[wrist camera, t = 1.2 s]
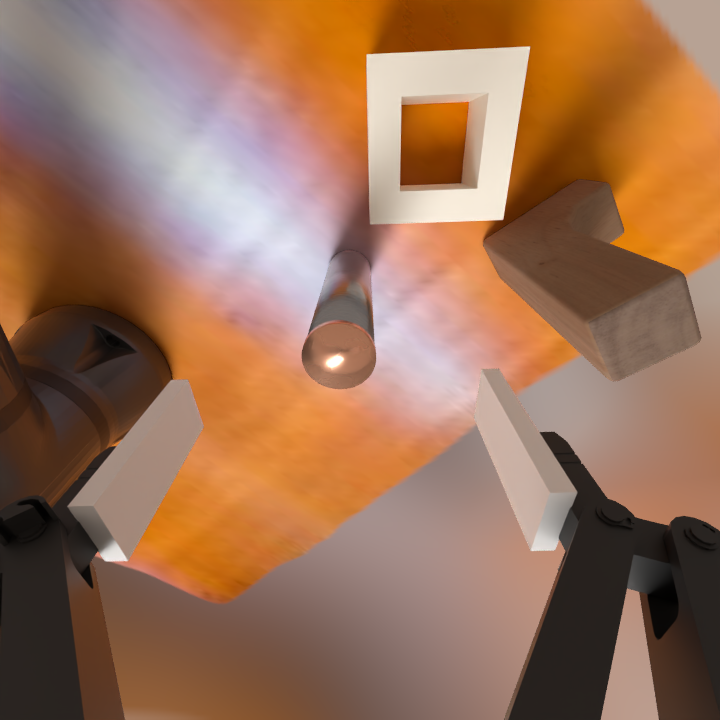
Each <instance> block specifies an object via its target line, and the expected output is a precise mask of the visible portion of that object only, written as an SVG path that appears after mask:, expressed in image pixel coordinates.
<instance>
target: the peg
mask: <svg viewBox="0 0 720 720" xmlns="http://www.w3.org/2000/svg"><path fill="white" fill-rule="evenodd" d="M302 362H303V365H304V368H305V370H306V372H307V373H308V374H309V376H310V377H311V378H312V379H313V380H315V381H316V382H317V383H319V384H321V385H323V386H326V387H329V388H333V389H347V388H352V387H355V386H357V385H359V384H361V383H363V382H364V381H365V380H366V379H367V378H368V377H369V376H370V375H371V373H372V372H373V370H374V367H375V363H376V349H375V344H374V326H373V307H372V289H371V270H370V265H369V262H368V260H367V259H366V257H365V256H364V255H362V254H361V253H359V252H357V251H354V250H344V251H341V252H339V253H337V254H336V255H335V256H334V257H333V258H332V260H331V261H330V264H329V267H328V271H327V274H326V277H325V280H324V284H323V287H322V290H321V293H320V297H319V300H318V303H317V307H316V310H315V313H314V316H313V320H312V323H311V326H310V329H309V333H308V336H307V338H306V340H305V343H304V346H303V350H302Z"/></svg>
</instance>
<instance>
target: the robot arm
mask: <svg viewBox="0 0 720 720" xmlns="http://www.w3.org/2000/svg"><path fill="white" fill-rule="evenodd" d="M474 419H475V422H476V424H477V426H478V429H479V431H480V433H481V435H482V438H483V440H484V443H485V445H486V447H487V450H488V452H489V454H490V457H491V459H492V461H493V464H494V466H495V468H496V471H497V473H498V475H499V478H500V480H501V482H502V485H503V487H504V489H505V492H506V494H507V496H508V499H509V501H510V504H511V506H512V508H513V511H514V513H515V515H516V517H517V520H518V522H519V524H520V527H521V529H522V532H523V534H524V536H525V539H526V541H527V543H528V545H529V548H530V550H531V551H545V550H555V548H556V546H557V543H558V541H559V539H560V541H561V543H562V545H563V547H564V549H565V551H566V552H565V554H564V556H563V559H562V561H561V564H560V566H559V568H558V573H557V576H556V578H555V581H554V584H553V587H552V589H551V592H550V595H549V598H548V600H547V603H546V606H545V608H544V611H543V614H542V617H541V619H540V622H539V625H538V628H537V630H536V633H535V636H534V638H533V641H532V644H531V647H530V650H529V653H528V655H527V658H526V660H525V664H524V666H523V669H522V671H521V674H520V677H519V680H518V682H517V685H516V688H515V690H514V693H513V696H512V699H511V701H510V704H509V707H508V710H507V713H506V715H505V718H504V720H601V715H602V710H603V704H604V700H605V694H606V690H607V685H608V680H609V674H610V670H611V665H612V660H613V655H614V650H615V645H616V640H617V635H618V629H619V625H620V620H621V615H622V609H623V605H624V600H625V595H626V590H627V588H628V589H631V590H635V591H638V592H639V593H640V600H641V606H642V613H643V619H644V625H645V632H646V638H647V645H648V651H649V658H650V664H651V670H652V677H653V684H654V690H655V697H656V703H657V710H658V716H659V720H720V531H719V530H718V529H716V528H714V527H713V526H711V525H710V524H708V523H706V522H704V521H701V520H698V519H696V518H692V517H686V516H681V517H676V518H675V519H674V520H672V521H671V523H670V524H669V526H668V525H664V524H659V523H655V522H651V521H647V520H643V519H639V518H636V517H634V515H633V514H632V513H631V512H630V511H629V510H628V509H627V508H626V507H624V506H622V505H621V504H619V503H617V502H616V501H613V500H610V499H607V497H606V496H605V494H604V493H603V492H602V490H601V489H600V487H599V486H598V485H597V483H596V482H595V480H594V479H593V478H592V476H591V475H590V473H589V472H588V471H587V469H586V468H585V466H584V465H583V464H581V461H580V459H579V458H578V456H577V455H575V453H574V451H573V450H572V448H571V447H570V445H569V444H568V442H566V440H564V439H563V438H562V437H560V436H559V435H558V434H556V433H555V432H539V431H538V429H537V428H536V426H535V425H534V423H533V422H532V420H531V419H530V417H529V415H528V414H527V412H526V411H525V409H524V408H523V406H522V404H521V403H520V401H519V400H518V398H517V396H516V395H515V393H514V392H513V390H512V389H511V387H510V385H509V384H508V382H507V381H506V379H505V378H504V376H503V374H502V373H501V371H500V370H499V369H481V375H480V381H479V388H478V394H477V401H476V408H475V414H474ZM203 427H204V426H203V423H202V420H201V417H200V414H199V411H198V408H197V405H196V402H195V399H194V396H193V393H192V390H191V387H190V384H189V381H188V380H172V379H171V373H170V370H169V367H168V364H167V362H166V360H165V358H164V356H163V354H162V353H161V351H160V350H159V349H158V347H157V346H156V345H155V344H154V342H153V341H152V340H151V339H150V338H149V337H148V336H147V335H146V334H145V333H143V332H142V331H141V330H140V329H139V328H137V327H136V326H135V325H133V324H132V323H130V322H128V321H127V320H125V319H123V318H121V317H119V316H117V315H115V314H113V313H111V312H108V311H105V310H102V309H99V308H95V307H90V306H83V305H65V306H59V307H55V308H52V309H50V310H48V311H46V312H44V313H42V314H40V315H38V316H36V317H34V318H32V319H30V320H29V321H27V322H26V323H25V324H23V325H22V326H21V327H20V328H19V329H18V330H17V332H16V333H15V335H14V336H13V337H12V339H11V340H10V341H9V342H8V339H7V337H6V335H5V333H4V331H3V329H2V327H1V325H0V720H125V718H124V713H123V708H122V703H121V698H120V693H119V688H118V683H117V678H116V673H115V668H114V663H113V658H112V653H111V648H110V643H109V638H108V632H107V628H106V622H105V617H104V612H103V608H102V602H101V597H100V592H99V588H98V582H97V577H96V572H95V568H94V566H93V564H92V563H91V561H92V559H93V557H94V556H95V554H96V553H97V551H98V552H99V553H100V555H101V556H102V558H103V559H104V560H105V561H128V560H129V558H130V557H131V555H132V553H133V551H134V550H135V548H136V546H137V544H138V543H139V541H140V539H141V537H142V535H143V534H144V532H145V530H146V528H147V527H148V525H149V523H150V521H151V519H152V518H153V516H154V514H155V512H156V511H157V509H158V507H159V505H160V504H161V502H162V500H163V498H164V496H165V495H166V493H167V491H168V489H169V488H170V486H171V484H172V482H173V480H174V479H175V477H176V475H177V473H178V472H179V470H180V468H181V466H182V465H183V463H184V461H185V459H186V457H187V456H188V454H189V452H190V450H191V449H192V447H193V445H194V443H195V441H196V440H197V438H198V436H199V434H200V433H201V431H202V429H203ZM120 440H121V442H120V443H119V444H118V445H117V446H113V447H110V446H112V445H114V444H115V443H117V442H119V441H120Z"/></svg>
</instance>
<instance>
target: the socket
mask: <svg viewBox="0 0 720 720" xmlns="http://www.w3.org/2000/svg"><path fill="white" fill-rule="evenodd" d="M529 51H530V46H529V47H509V48H488V49H467V50H446V51H426V52H405V53H384V54H367V64H366V77H367V125H368V173H369V216H370V225H371V224H400V223H428V222H456V221H484V220H503V218H504V211H505V205H506V199H507V192H508V186H509V179H510V173H511V167H512V160H513V154H514V147H515V141H516V135H517V128H518V122H519V115H520V109H521V103H522V96H523V90H524V83H525V77H526V71H527V64H528V58H529ZM453 102H469V108H468V119H467V129H466V140H465V150H464V160H463V171H462V181H461V183H454V184H428V185H402V186H400V154H401V105H408V104H431V103H453Z"/></svg>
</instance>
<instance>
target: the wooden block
mask: <svg viewBox="0 0 720 720" xmlns="http://www.w3.org/2000/svg"><path fill="white" fill-rule="evenodd" d="M623 233H624V227H623V224H622V221H621V218H620V215H619V212H618V209H617V206H616V203H615V200H614V197H613V194H612V190H611V187H610V185H609V184H608V183H606V182H598V181H590V180H583V179H579V180H576V181H574V182H573V183H571V184H570V185H568V186H567V187H565V188H564V189H562V190H560V191H559V192H557V193H556V194H554V195H553V196H551V197H550V198H548V199H547V200H545V201H543V202H542V203H540V204H539V205H537V206H536V207H534V208H533V209H531V210H530V211H528V212H526V213H525V214H523V215H522V216H520V217H519V218H517V219H516V220H514V221H513V222H511V223H510V224H508V225H506V226H505V227H503V228H502V229H500V230H499V231H497V232H496V233H494V234H493V235H491V236H489V237H488V238H486V239H485V240H484V241H483V246H484V248H485V250H486V252H487V254H488V256H489V258H490V259H491V261H492V263H493V265H494V267H495V269H496V271H497V273H498V275H499V277H500V278H501V279H502V280H503V281H504V282H505V283H506V284H507V285H508V286H509V287H510V288H511V289H513V290H514V291H515V292H516V293H517V294H518V295H519V296H520V297H521V298H522V299H523V300H524V301H525V302H526V303H527V304H528V305H530V306H531V307H532V308H533V309H534V310H535V311H536V312H537V313H538V314H539V315H540V316H541V317H542V318H543V319H544V320H545V321H546V322H548V323H549V324H550V325H551V326H552V327H553V328H554V329H555V330H556V331H557V332H558V333H559V334H560V335H561V336H562V337H564V338H565V339H566V340H567V341H568V342H569V343H570V344H571V345H572V346H573V347H574V348H575V349H576V350H577V351H578V352H580V353H581V354H582V355H583V356H584V357H585V358H586V359H587V360H588V361H589V362H590V363H591V364H592V365H593V366H594V367H596V368H597V369H598V370H599V371H600V372H601V373H602V374H603V375H604V376H605V377H606V378H608V379H609V380H611V381H619V380H621V379H623V378H626V377H628V376H630V375H632V374H634V373H636V372H639V371H641V370H643V369H645V368H647V367H649V366H651V365H654V364H656V363H658V362H660V361H662V360H665V359H667V358H669V357H671V356H673V355H675V354H677V353H680V352H682V351H684V350H686V349H688V348H690V347H693V346H695V345H696V344H698V343H699V342H700V340H701V335H700V331H699V327H698V323H697V320H696V316H695V312H694V308H693V304H692V300H691V296H690V293H689V289H688V285H687V281H686V277H685V276H684V274H683V273H682V272H681V271H680V270H678V269H675V268H672V267H670V266H667V265H664V264H662V263H659V262H657V261H654V260H651V259H649V258H646V257H643V256H641V255H638V254H635V253H633V252H630V251H628V250H625V249H622V248H620V247H617V246H614V245H612V244H609V243H611V242H612V241H614V240H615V239H617V238H618V237H620V236H621V235H622V234H623Z"/></svg>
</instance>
